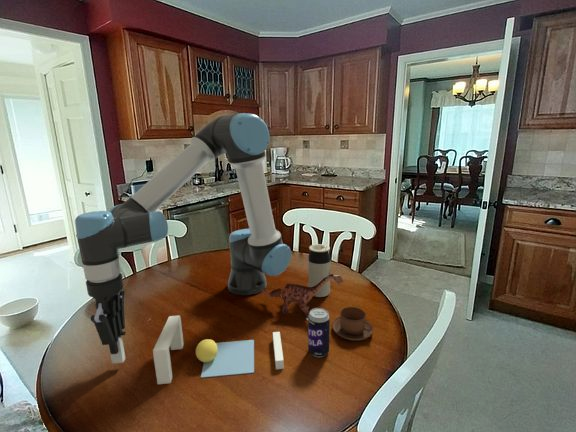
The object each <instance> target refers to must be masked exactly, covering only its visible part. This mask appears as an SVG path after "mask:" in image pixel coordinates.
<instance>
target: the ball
mask: <svg viewBox="0 0 576 432" xmlns="http://www.w3.org/2000/svg"><path fill="white" fill-rule="evenodd" d="M216 343H217V342H215V340H213V339H209V338H206V339H202V340H201V341H200V342H199V343H198V344H197V346H196V348H195V356H196V358H197V359H198V360H199V361H200V362H202V363H204V362H210V361H212V360H213V359H214V358H215V357H216V355H217V352H218V347H217V344H216Z"/></svg>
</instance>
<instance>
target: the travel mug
mask: <svg viewBox="0 0 576 432" xmlns="http://www.w3.org/2000/svg"><path fill="white" fill-rule="evenodd" d="M308 248H309V254H308V287H314V286H316V285H317V284H318V283H319V282H320V281H322V279H323V278H325V277H327V276H328V275H331V255H330V253H329V252H330V250H331V247H330V246H329V245H326V244H321V243H317V244H311V245H309V247H308ZM330 294H331V280H330V281H327V282H326V283H325V284H324V285H323V286H322V287H321V288H320V290H319V291H318V292H317V293H316V294H314V295H313V297H316V298H323V297H327V296H329V295H330Z"/></svg>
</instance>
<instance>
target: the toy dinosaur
mask: <svg viewBox="0 0 576 432" xmlns="http://www.w3.org/2000/svg"><path fill="white" fill-rule="evenodd" d="M331 280H332V281H333V282H335V283H336V284H337V285H339V286H340V285H341V284H343V283H344V281H343V279H342V276H341V275H339V274H337V275H336V274H333V273H330V275H328V276H327V277H325V278H323V279H322V281H320V282H319V283H318V284H317V285H316V286H314V287H309V286H305V285H301V284H295V283H287V284H285V287H284V288H283V289H282V288H276V289H274V290H271V292H267V291H266V290H261V292H263V293H264V294H265V296H269V295H270V298H273V297H275V298H278V297H279V298H281V299H282V300H283V306H282V309H281V310H282V313H283V314H289V309H288V307H289V306H290V305H291V304H292V303H295V304H298V305H299V308H300V310H302V312H303V313H304V316H305V319H306V320H307V321H308V315H309V314H310V312H309V310H308V309H309V308H310V306H308V305H307V304H308V303H309V302H310V301H311V300H312V299H313V297H314V296H313V295H314V294H316V293H317V292H318V291H319V290H320V288H321V287H322V286H323V285H324V284H325V283H326V282H327V281H330V282H331Z"/></svg>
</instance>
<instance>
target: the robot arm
mask: <svg viewBox="0 0 576 432" xmlns="http://www.w3.org/2000/svg"><path fill="white" fill-rule="evenodd" d="M270 137H271V136H270V132H269V128H268V126H267V123H266V122H265V120H263V118H261V117H260V116H258V115H257V114H254V113H245V112H242V113H241V112H240V113H236V114H231V115H230V114H229V115H221V116H218V117H216V118H214V119H213V120H210V122H209V123H207V124H205V126H204V127H203V128H201V129H200V130H199V131H198V132H196V134H195V135H194V136H193V137H191V139H190V144H189V145H188V146H186V147H185V148H184V149H183V150H182V151H181V152H180V153H179V154H178V155H176V156H175V157H174V158H173V159H172V160H171V161H169V163H167V164H166V165H165V166H164V167H162V169H161V170H159V171H158V172H157V173H155V175H154V176H153V177H152V178H150V179H149V180H148V181H147V182H146V183H145V184H144V185H143V186H141V188H139V189H138V190H137V191H136V192H134V194H133V195H131V196H130V197H129V198H128V199H126V200H125V201H124V202H123V203H121V204H116V205H114V206H113V207H111V208H110V209H109V210H96V211H88V212H84V213H80V214H79V215H77V216H76V217H75V220H74V225H75V232H76V234H75V237H76V239H77V245H78V249H79V254H80V259H81V263H82V265H81V267H82V269H83V273H84V278H85V280H86V281H85V285H86V291H87V295H88V296H89V297H90V298H93V299H94V300H95V309H96V312H95V314H93V315H91V316H90V321H91V322H92V324H94V326H95V329H96V332H97V334H98V337H99V339H100V341H101V344H102V346H108V348H109V353H110V358H111V364H122V363H124V362H125V361H126V353H125V349H124V348H125V347H124V341H123V337H122V336H125V335H126V333H127V332H126V331H123V330H125V329H126V322H125V321H126V320H125V318H126V317H125V291H124V287H125V286H124V281H123V280H124V279H123V275H122V266H121V262H120V254H119V250H121V249H124V248H129V247H135V246H138V245H142V244H148V243H154V242H157V241H159V240H160V241H161V240H163V239H165V238H166V237H167V235H168V233H169V226H168V221H167V218H166V215H165V214H164V213H163V212H162V211H159V210H158V209H160V208H161V206H163V204H165V202H167V201H168V200H169V199H170V198H171V197H172V196H173V195H174V194H175V193H177V192H178V190H180V189H181V188H182V187H183V186H184V185H186V183H187V182H188V181H189V180H190V179H191V178H192V177H194V176H195V175H196V174H197V173H198V172H199V171H200V170H201V169H202V168H203V167H204V166H205V165H207V163H209V162H211V163H212V162H215V160H216V159H218V158H219V157H220V156H222V155H225V154H226V156H227V160H228V164H229V165H232V166H233V168H235V172H236V176H237V182H238V186H239V189H240V194H241V198H242V199H241V200H242V202H243V207H244V211H245V216H246V220H247V224H248V228H243V229H242V228H241V229H237V230H235V231H232V232H231V233H230V234H229V237H228V238H229V239H228V240H229V241H228V244H229V253H230V254H229V256H230V268H231V269H230V273H229V277H228V281H227V289H228V292H230V293H231V294H234V295H236V296H251V295H252V296H253V295H256V294H259V293H261V292H262V291H261V290H263V291H265V290H266V288H267V284H268V283H267V278H266V276H265V275H268V276H270V277H275V276H279V275H281V274H282V273H284V272H285V271H286V270H287V268H288V266H289V264H290V263H291V258H292V250H291V248H290V246H289V245H287V244H285V243H283V239H282V234H281V232H280V231H279V230H278V229H276V226H275V221H274V216H273V210H272V206H271V201H270V195H269V194H270V193H269V190H268V184H267V181H266V175H265V170H264V166H263V165H264V164H263V161H264V160H265V158H266V150H267V148H268V146H269V144H270Z"/></svg>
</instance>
